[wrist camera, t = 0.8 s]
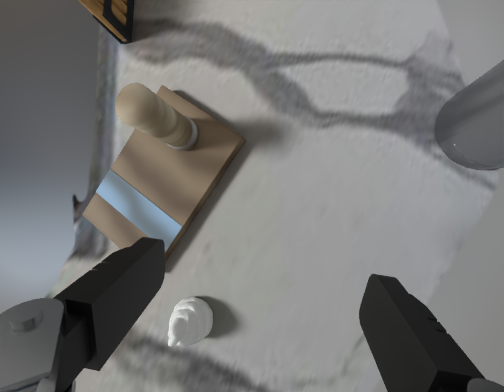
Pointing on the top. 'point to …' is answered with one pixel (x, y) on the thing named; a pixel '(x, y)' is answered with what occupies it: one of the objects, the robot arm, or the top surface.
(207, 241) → the top surface
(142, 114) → the wooden post on base
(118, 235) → the cutting board
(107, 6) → the ammunition clip
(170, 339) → the white meringue
